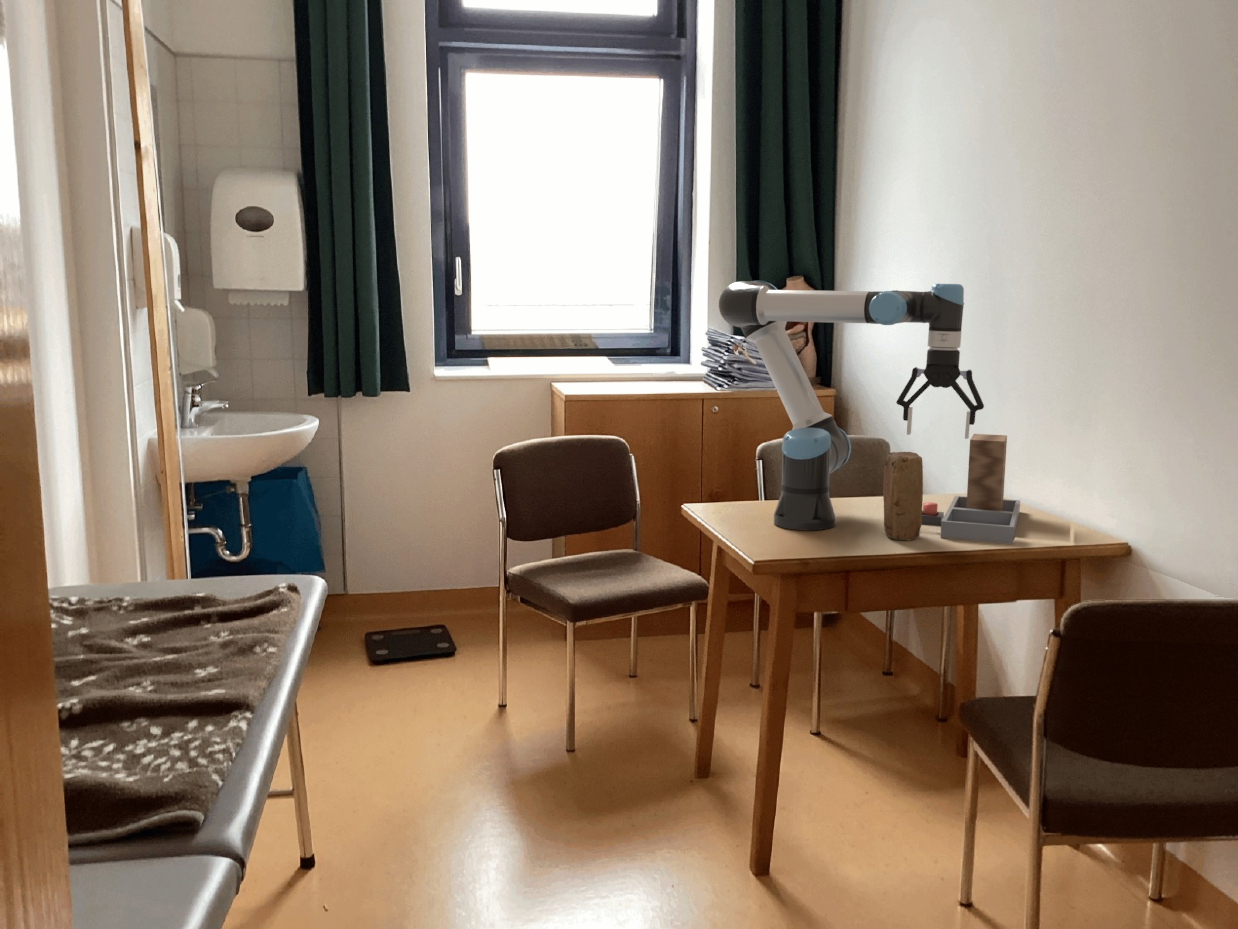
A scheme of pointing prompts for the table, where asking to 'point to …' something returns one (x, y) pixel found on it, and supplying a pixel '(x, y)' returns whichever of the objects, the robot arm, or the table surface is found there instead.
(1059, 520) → the table surface
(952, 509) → the gray divided tray
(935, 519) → the button housing
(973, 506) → the seated billet
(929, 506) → the button
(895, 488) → the block
